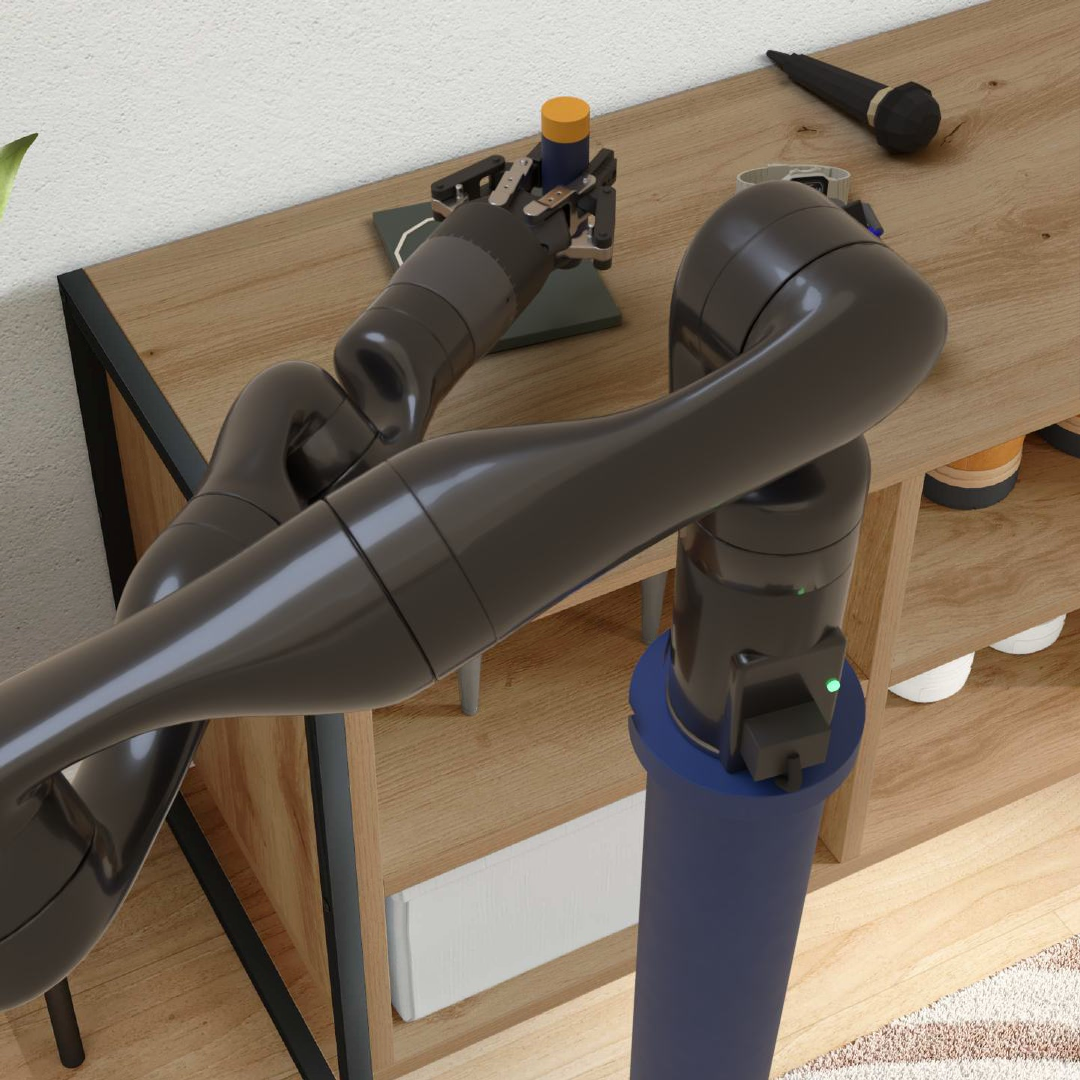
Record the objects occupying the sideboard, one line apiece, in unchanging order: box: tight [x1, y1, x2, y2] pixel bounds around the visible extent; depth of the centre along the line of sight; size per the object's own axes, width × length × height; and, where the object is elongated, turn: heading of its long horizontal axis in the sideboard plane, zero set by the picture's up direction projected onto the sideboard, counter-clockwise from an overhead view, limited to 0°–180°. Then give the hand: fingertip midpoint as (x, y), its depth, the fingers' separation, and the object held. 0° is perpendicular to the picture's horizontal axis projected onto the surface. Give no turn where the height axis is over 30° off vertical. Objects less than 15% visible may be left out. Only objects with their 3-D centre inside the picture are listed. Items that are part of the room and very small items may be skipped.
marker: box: [540, 95, 591, 270], centre depth 107 cm, size 3×3×12 cm
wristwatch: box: [734, 162, 851, 205], centre depth 120 cm, size 9×6×5 cm
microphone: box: [765, 49, 942, 155], centre depth 131 cm, size 6×6×20 cm
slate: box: [372, 187, 622, 355], centre depth 117 cm, size 18×14×1 cm
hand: (583, 153), depth 108 cm, fingers closed on marker, 3 cm apart
